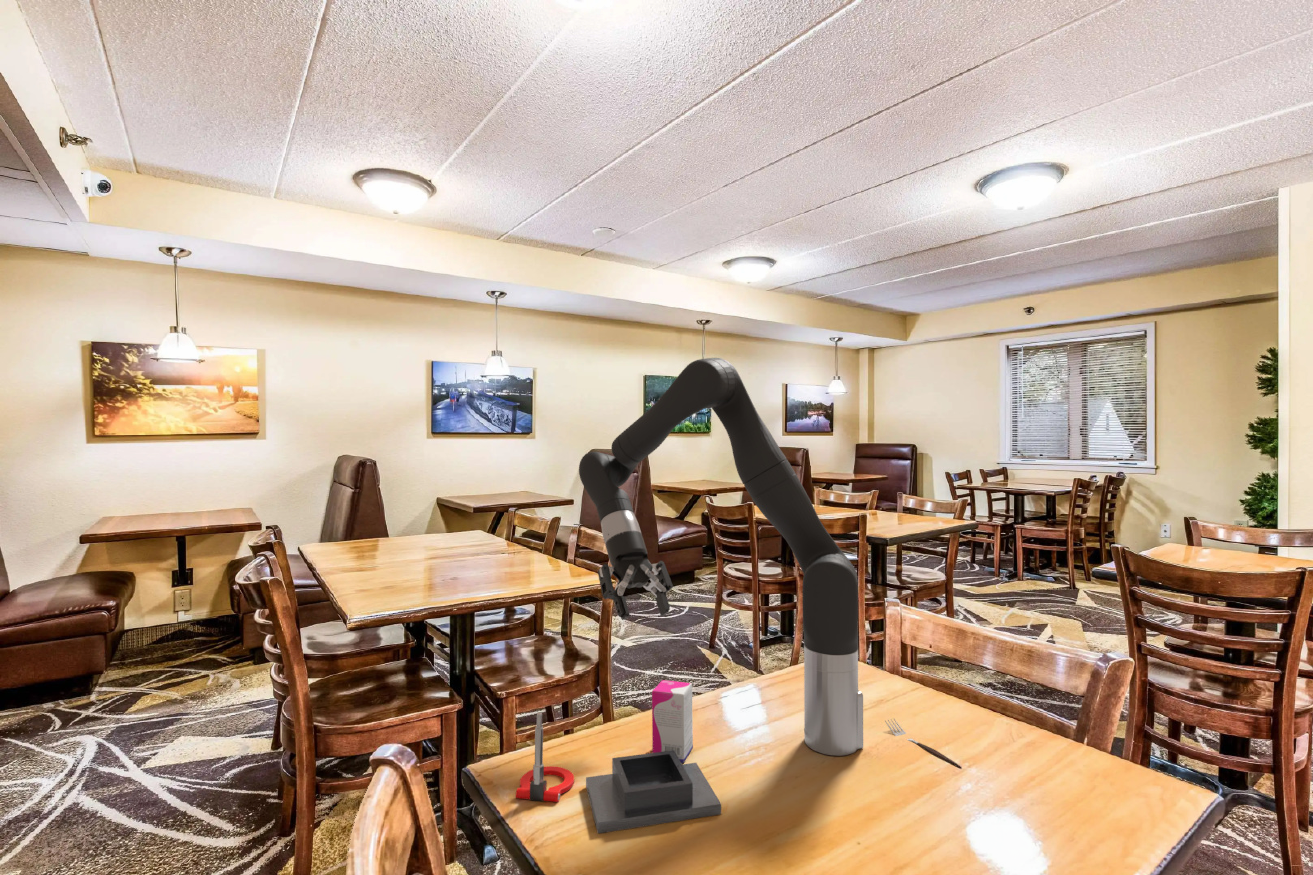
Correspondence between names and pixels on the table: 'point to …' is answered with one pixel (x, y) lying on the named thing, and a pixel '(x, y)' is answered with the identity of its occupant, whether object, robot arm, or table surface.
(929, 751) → the fork
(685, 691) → the supplement box
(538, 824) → the table surface
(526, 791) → the tow hook
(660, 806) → the socket plate
